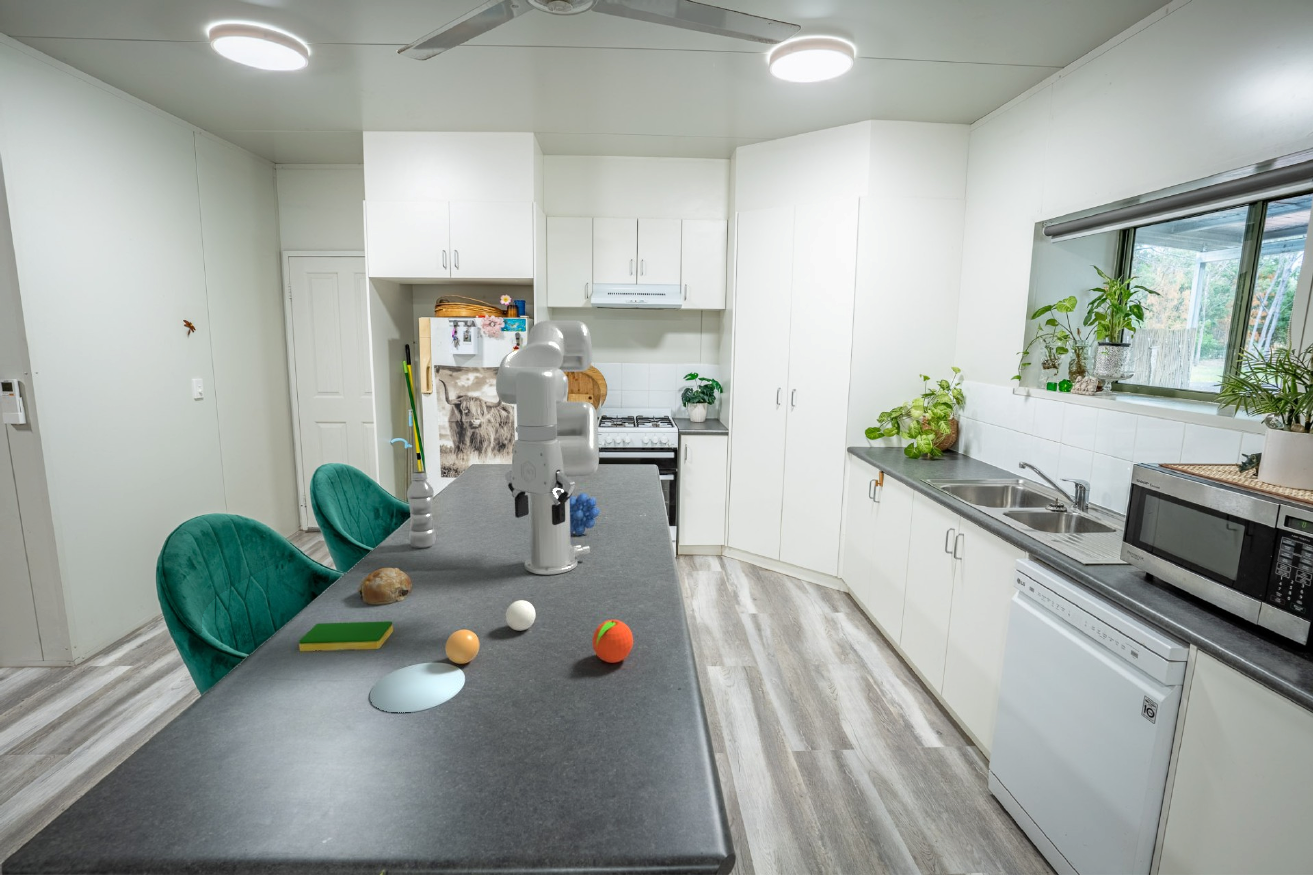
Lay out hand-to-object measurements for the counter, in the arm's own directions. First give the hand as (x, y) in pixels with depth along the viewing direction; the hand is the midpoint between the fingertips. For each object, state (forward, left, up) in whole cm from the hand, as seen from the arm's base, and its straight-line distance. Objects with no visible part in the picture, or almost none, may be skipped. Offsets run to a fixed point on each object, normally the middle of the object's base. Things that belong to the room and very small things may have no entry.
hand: (540, 519), depth 122 cm
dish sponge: (+35, -5, -20) cm, 41 cm away
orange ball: (+18, +13, -16) cm, 28 cm away
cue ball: (+6, +6, -16) cm, 18 cm away
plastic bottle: (+15, -53, -19) cm, 59 cm away
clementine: (-4, +25, -19) cm, 32 cm away
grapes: (-25, -43, -19) cm, 54 cm away
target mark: (+26, +17, -19) cm, 37 cm away
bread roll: (+27, -23, -19) cm, 41 cm away
